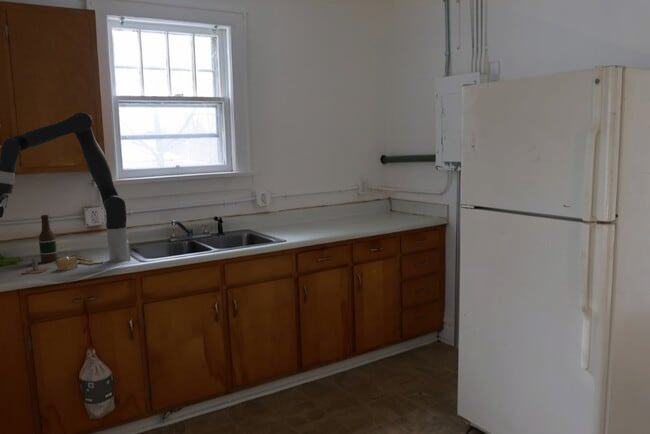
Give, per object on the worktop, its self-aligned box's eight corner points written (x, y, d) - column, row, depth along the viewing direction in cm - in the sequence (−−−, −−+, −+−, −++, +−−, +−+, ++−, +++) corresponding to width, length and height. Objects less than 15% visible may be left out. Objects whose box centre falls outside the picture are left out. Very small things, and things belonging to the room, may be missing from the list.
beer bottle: (38, 261, 275) (33, 215, 272) (54, 258, 280) (50, 213, 277) (43, 263, 269) (38, 216, 266) (60, 260, 275) (55, 214, 271)
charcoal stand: (68, 268, 257) (66, 255, 256) (79, 269, 254) (77, 255, 253) (56, 271, 250) (54, 258, 249) (67, 272, 248) (66, 259, 247)
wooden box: (29, 271, 253) (27, 257, 252) (49, 270, 254) (48, 256, 253) (21, 276, 244) (20, 261, 243) (42, 274, 245) (41, 260, 244)
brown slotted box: (67, 266, 256) (66, 256, 255) (77, 267, 254) (76, 257, 253) (57, 269, 250) (56, 259, 250) (67, 270, 248) (66, 259, 248)
